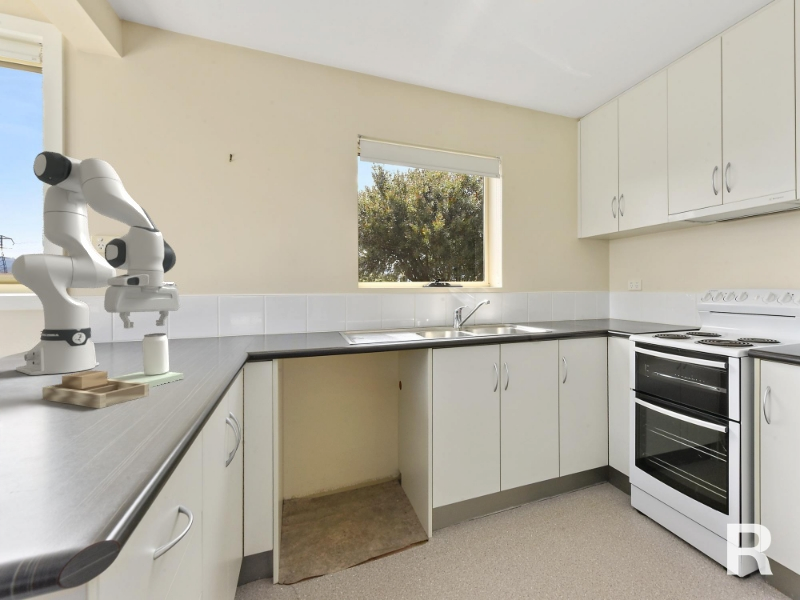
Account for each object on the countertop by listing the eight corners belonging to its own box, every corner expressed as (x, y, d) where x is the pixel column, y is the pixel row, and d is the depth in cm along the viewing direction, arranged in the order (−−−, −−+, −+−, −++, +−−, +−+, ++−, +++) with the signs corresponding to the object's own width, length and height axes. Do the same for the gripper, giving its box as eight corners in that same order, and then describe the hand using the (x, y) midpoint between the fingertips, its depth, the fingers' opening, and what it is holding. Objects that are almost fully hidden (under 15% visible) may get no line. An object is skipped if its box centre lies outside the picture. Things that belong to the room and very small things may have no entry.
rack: (42, 399, 85) (42, 387, 85) (94, 387, 96) (94, 377, 96) (100, 408, 79) (100, 395, 79) (149, 395, 90) (149, 383, 90)
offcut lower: (60, 399, 87) (60, 387, 87) (93, 392, 93) (93, 381, 93) (75, 401, 85) (75, 389, 85) (107, 394, 91) (108, 383, 91)
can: (157, 376, 103) (155, 336, 103) (138, 375, 104) (136, 336, 103) (174, 370, 110) (172, 333, 109) (155, 369, 111) (154, 332, 110)
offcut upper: (61, 388, 86) (62, 376, 86) (88, 381, 93) (88, 370, 93) (81, 388, 85) (81, 376, 85) (107, 382, 92) (107, 371, 92)
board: (102, 385, 99) (102, 379, 99) (150, 375, 112) (150, 369, 112) (137, 390, 94) (137, 383, 94) (183, 379, 108) (183, 373, 108)
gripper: (170, 282, 114) (169, 324, 114) (100, 278, 94) (99, 329, 95) (185, 282, 112) (184, 325, 112) (117, 278, 93) (116, 330, 93)
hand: (145, 327), depth 103 cm, fingers open, 8 cm apart
